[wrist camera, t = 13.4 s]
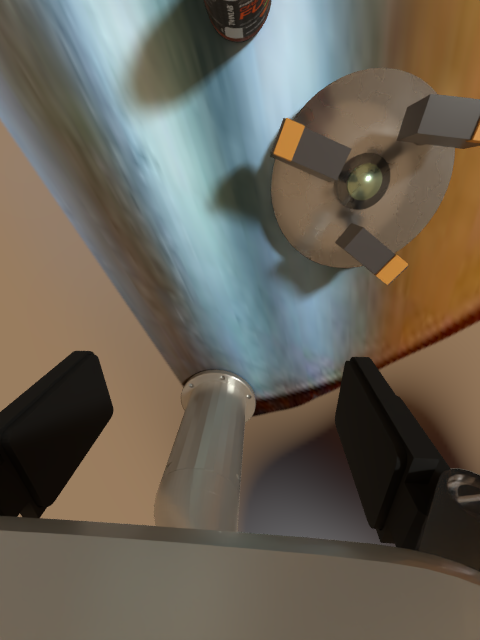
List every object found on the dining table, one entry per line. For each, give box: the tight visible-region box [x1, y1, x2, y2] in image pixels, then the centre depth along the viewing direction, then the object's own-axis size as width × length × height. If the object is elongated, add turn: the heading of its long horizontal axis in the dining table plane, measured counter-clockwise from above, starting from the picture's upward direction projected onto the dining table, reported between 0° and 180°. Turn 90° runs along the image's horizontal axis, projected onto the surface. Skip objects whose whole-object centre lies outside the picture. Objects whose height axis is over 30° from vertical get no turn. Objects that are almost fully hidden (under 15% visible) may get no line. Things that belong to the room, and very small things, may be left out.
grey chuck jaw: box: [335, 223, 408, 285], centre depth 27 cm, size 6×2×6 cm, turn 55°
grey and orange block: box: [396, 94, 480, 149], centre depth 22 cm, size 6×2×6 cm, turn 84°
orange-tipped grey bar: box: [270, 118, 351, 182], centre depth 24 cm, size 6×2×6 cm, turn 70°
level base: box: [271, 68, 455, 268], centre depth 27 cm, size 18×18×4 cm
